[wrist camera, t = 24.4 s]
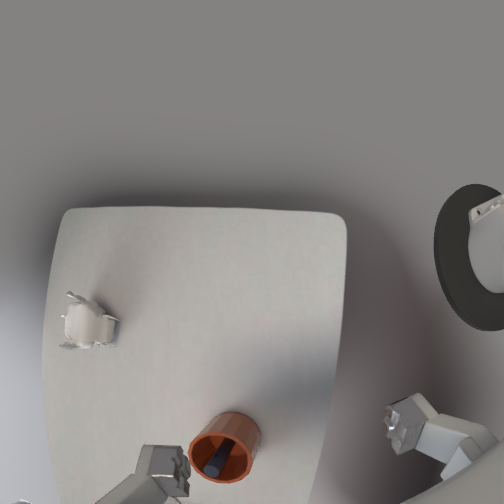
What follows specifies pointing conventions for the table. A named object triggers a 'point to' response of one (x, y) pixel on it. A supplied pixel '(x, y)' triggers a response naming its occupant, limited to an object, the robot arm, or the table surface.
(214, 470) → the rod
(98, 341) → the elephant figurine
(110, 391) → the table surface
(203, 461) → the cup
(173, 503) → the wineglass
